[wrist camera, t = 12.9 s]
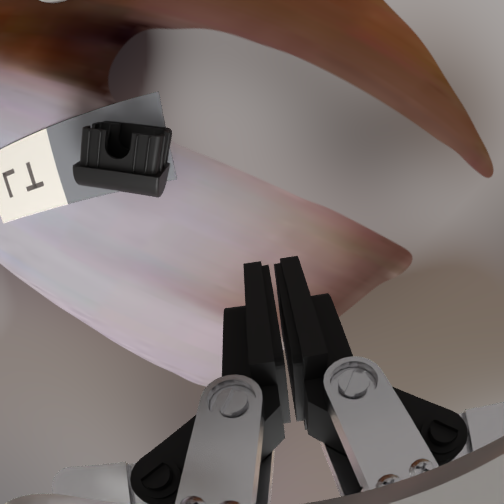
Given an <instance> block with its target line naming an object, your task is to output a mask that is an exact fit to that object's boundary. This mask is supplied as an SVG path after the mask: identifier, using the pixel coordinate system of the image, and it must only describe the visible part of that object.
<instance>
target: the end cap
mask: <svg viewBox="0 0 504 504" xmlns="http://www.w3.org/2000/svg"><path fill="white" fill-rule="evenodd" d="M90 127H91V126H85V127H83V128H82V140H81V154H80V161H79V162H77V163H76V164H74V165H73V176H74V179H75V181H76V183H77V184H78V185H81V186H88V187H95V188H102V189H109V190H115V191H122V192H128V193H135V194H141V195H147V196H153V197H160V196H161V195H162V193H163V191H164V188H165V185H166V181H167V177H168V173H169V168H170V163H168V162H167V161H168V155H169V149H170V142H171V136H172V131H171V129H169V128H165V127H158V126H151V125H143V124H134V123H125V122H115V121H103V122H96V123H93V124H92V128H90Z"/></svg>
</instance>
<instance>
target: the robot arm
mask: <svg viewBox="0 0 504 504" xmlns="http://www.w3.org/2000/svg"><path fill="white" fill-rule="evenodd" d="M40 1H43V2H47V3H58V2H62V1H66V0H40ZM274 269H275V277H276V285H277V294H278V303H279V311H280V320H281V329H282V336H283V342H284V348H285V353H286V360H287V365H288V371H289V377H290V384H291V389H292V396H293V402H294V409H295V415H296V420H297V421H303V420H304V425H305V430H308V434H309V435H310V436H312V437H314V438H316V439H317V440H319V441H320V443H321V447H322V450H323V452H324V455H325V457H326V460H327V462H328V465H329V468H330V470H331V473H332V475H333V478H334V480H335V483H336V485H337V488H338V491H339V493H340V496H341V497H338V498H333V499H329V500H323V501H318V502H311V503H306V504H504V402H501V403H497V404H492V405H487V406H482V407H476V408H471V409H465V411H464V412H463V413H459V414H457V413H455V412H453V411H451V410H449V409H446V408H444V407H441V406H438V405H436V404H433V403H431V402H428V401H426V400H423V399H421V398H418V397H416V396H414V395H411V394H409V393H406V392H404V391H401V390H399V389H396V388H394V387H392V386H391V384H390V383H389V381H388V379H387V378H386V376H385V375H384V373H383V371H382V370H381V369H380V367H378V365H377V364H376V363H374V362H373V361H371V360H369V359H366V358H362V357H353V355H352V352H351V349H350V347H349V344H348V341H347V339H346V336H345V333H344V330H343V328H342V325H341V322H340V320H339V317H338V314H337V312H336V309H335V307H334V304H333V301H332V299H331V297H330V295H329V294H328V293H327V294H321V295H315V296H311V295H310V292H309V289H308V286H307V283H306V280H305V277H304V273H303V270H302V267H301V264H300V261H299V258H298V256H294V257H287V258H280V263H278V264H274ZM244 283H245V303H246V306H240V307H232V308H225V309H224V321H223V357H222V377H220V378H217V379H216V380H214V381H213V382H211V383H210V384H209V385H208V386H207V387H206V388H205V389H204V391H203V393H202V396H201V399H200V402H199V406H198V410H197V414H196V415H195V416H194V417H193V418H192V419H190V420H189V421H188V422H187V423H186V424H184V425H183V426H182V427H181V428H179V429H178V430H177V431H176V432H174V433H173V434H172V435H171V436H170V437H168V438H167V439H166V440H164V441H163V442H162V443H161V444H159V445H158V446H157V447H155V448H154V449H153V450H152V451H151V452H149V453H148V454H146V455H145V456H144V457H142V458H141V459H140V460H139V461H138V462H137V463H134V464H128V463H126V462H120V463H112V464H103V465H92V466H77V467H67V468H63V469H62V470H60V471H59V472H58V473H57V474H56V476H55V477H54V479H53V484H52V494H31V495H25V496H21V497H18V498H15V499H12V500H10V501H8V502H7V503H5V504H270V500H271V489H272V478H273V465H274V453H275V452H274V449H275V448H276V447H277V446H278V445H279V444H280V443H281V441H282V440H283V439H284V438H285V435H284V425H283V423H290V422H291V420H290V410H289V402H288V401H289V400H288V390H287V382H286V372H285V363H284V355H283V349H282V343H281V336H280V330H279V324H278V318H277V312H276V306H275V300H274V294H273V288H272V282H271V276H270V270H269V265H264V266H262V265H261V261H260V262H253V263H246V264H244Z"/></svg>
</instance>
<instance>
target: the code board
mask: <svg viewBox="0 0 504 504" xmlns="http://www.w3.org/2000/svg"><path fill="white" fill-rule="evenodd" d="M67 204H68V203H67V200H66V197H65V193H64V190H63V187H62V184H61V181H60V178H59V174H58V171H57V167H56V164H55V160H54V157H53V153H52V149H51V146H50V142H49V138H48V134H47V130H46V129H43V130H41V131H39V132H36V133H34V134H32V135H30V136H27V137H25V138H23V139H21V140H19V141H17V142H14V143H12V144H10V145H8V146H6V147H4V148H2V149H0V216H1V218H2V221H3V223H6V222H9V221H12V220H16V219H19V218H22V217H25V216H29V215H32V214H35V213H39V212H42V211H46V210H49V209H53V208H56V207H60V206H63V205H67Z"/></svg>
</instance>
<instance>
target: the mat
mask: <svg viewBox="0 0 504 504" xmlns="http://www.w3.org/2000/svg"><path fill="white" fill-rule="evenodd" d="M103 121H115V122H125V123H134V124H143V125H151V126H158V127H165V121H164V116H163V112H162V106H161V101H160V96H159V92H155V93H151V94H147V95H143V96H139V97H136V98H132V99H129V100H125V101H122V102H119V103H115V104H112V105H109V106H106V107H103V108H99V109H96V110H93V111H91V112H88V113H85V114H82V115H79V116H76V117H74V118H71V119H68V120H66V121H63V122H61V123H58V124H56V125H53V126H51V127H48V128H46V130H47V134H48V138H49V142H50V146H51V149H52V153H53V157H54V160H55V164H56V167H57V171H58V174H59V178H60V181H61V184H62V187H63V190H64V193H65V197H66V200H67V203H68V204H71V203H75V202H78V201H82V200H86V199H90V198H94V197H98V196H102V195H106V194H111V193H115V192H119V191H115V190H109V189H102V188H95V187H88V186H81V185H78V184H77V183H76V181H75V179H74V176H73V165H74V164H76V163H77V162H79V161H80V154H81V140H82V128H83V127H85V126H91V127H90V128H92V124H93V123H96V122H103ZM165 128H166V127H165ZM167 162H168V163H170V168H169V173H168V177H167V181H171V180H176V179H177V177H176V173H175V168H174V164H173V159H172V155H171V150H170V149H169V155H168V161H167Z"/></svg>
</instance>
